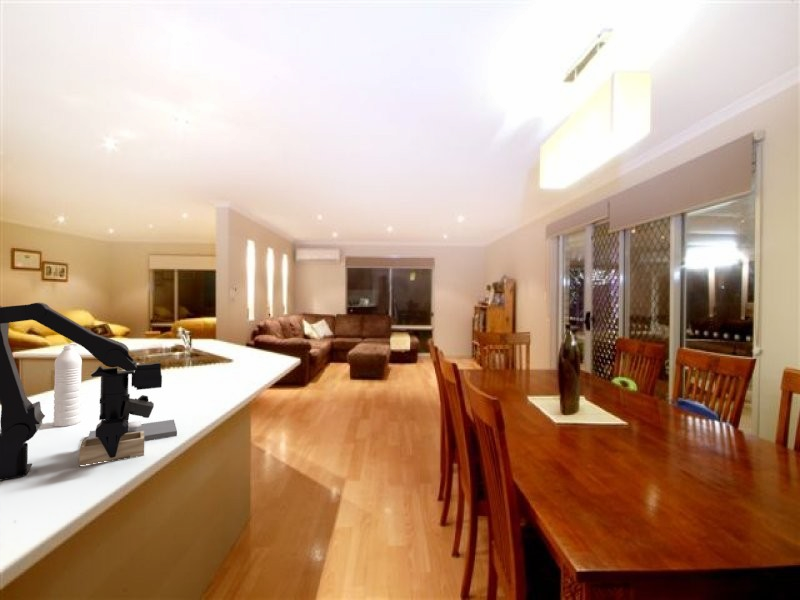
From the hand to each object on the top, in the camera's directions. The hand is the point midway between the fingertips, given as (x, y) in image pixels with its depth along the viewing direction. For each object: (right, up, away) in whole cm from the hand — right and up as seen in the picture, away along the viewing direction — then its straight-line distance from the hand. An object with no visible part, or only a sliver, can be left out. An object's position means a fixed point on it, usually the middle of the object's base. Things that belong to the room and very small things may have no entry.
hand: (113, 452), depth 98 cm
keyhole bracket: (0, -1, 0) cm, 1 cm away
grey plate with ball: (-5, -1, +14) cm, 15 cm away
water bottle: (-32, 0, +24) cm, 40 cm away
